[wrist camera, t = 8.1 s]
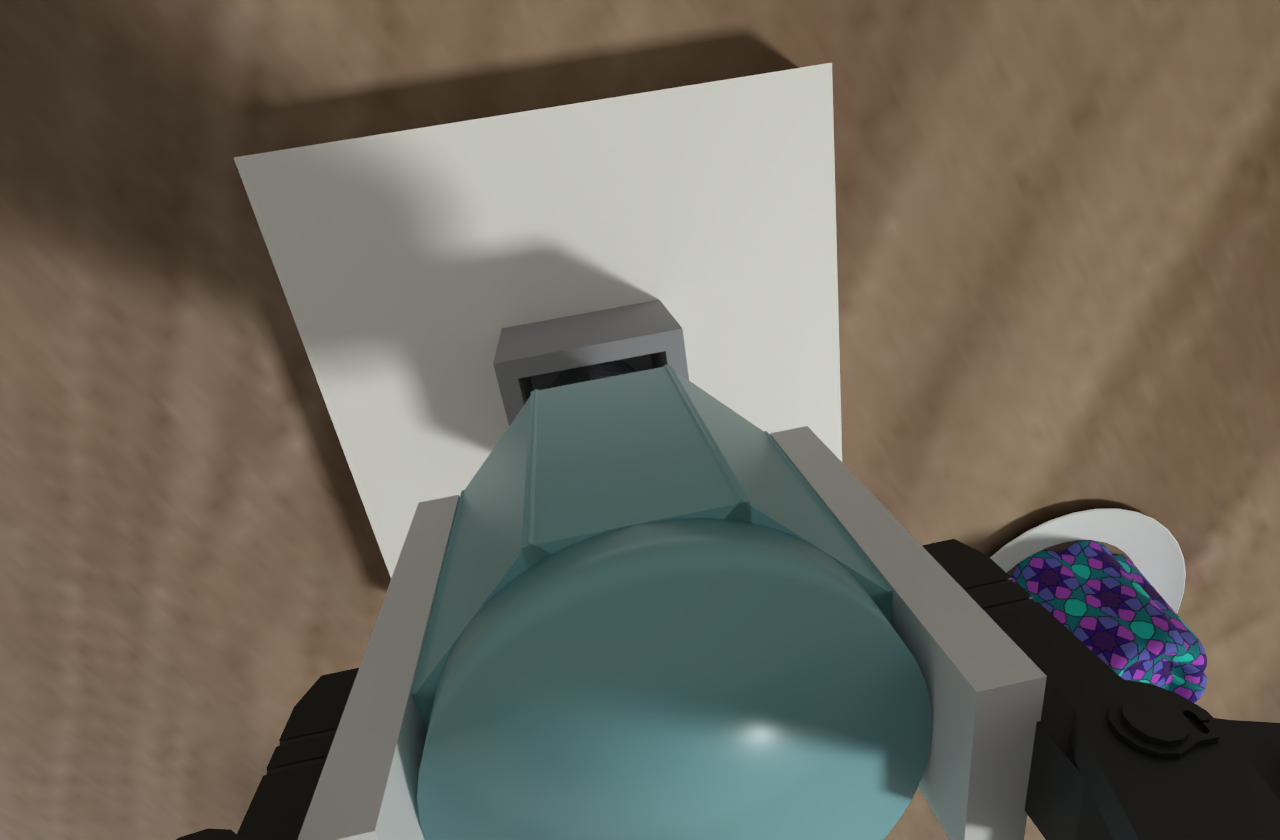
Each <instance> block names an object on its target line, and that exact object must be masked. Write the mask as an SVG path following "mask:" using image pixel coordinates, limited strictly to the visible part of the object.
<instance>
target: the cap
mask: <svg viewBox="0 0 1280 840" xmlns="http://www.w3.org/2000/svg"><path fill="white" fill-rule="evenodd" d="M892 599H893V594H892V589H891V588H890V587H889V586H888V584H887V583H886V582H885V581H884V579H883V578H882V577H881V575H880V574H879V573H878V572H877V570H876V569H875V568H874V567H873V565H872V564H871V563H870V562H869V560H868V559H867V558H866V556H865V555H864V554H863V553H862V551H861V550H860V549H859V548H858V546H857V545H856V544H855V542H854V541H853V540H852V539H851V537H850V536H849V535H848V534H847V532H846V531H845V530H844V529H843V527H842V526H841V525H840V523H839V522H838V521H837V520H836V518H835V517H834V516H833V515H832V513H831V512H830V511H829V509H828V508H827V507H826V506H825V504H824V503H823V502H822V501H821V499H820V498H819V497H818V496H817V494H816V493H815V492H814V490H813V489H812V488H811V487H810V485H809V484H808V483H807V482H806V480H805V479H804V478H803V477H802V475H801V474H800V473H799V471H798V470H797V469H796V468H795V466H794V465H793V464H792V463H791V461H790V460H789V459H788V457H787V456H786V455H785V454H784V452H783V451H782V450H781V449H780V447H779V446H778V445H777V444H776V442H775V441H774V440H773V438H772V437H771V436H770V435H769V433H768V432H767V431H762V430H761V429H759V428H758V427H756V426H755V425H753V424H752V423H751V422H749V421H748V420H746V419H745V418H743V417H742V416H740V415H739V414H737V413H736V412H734V411H733V410H732V409H730V408H729V407H727V406H726V405H724V404H723V403H721V402H720V401H718V400H717V399H715V398H714V397H712V396H711V395H710V394H708V393H707V392H705V391H704V390H702V389H701V388H699V387H698V386H696V385H695V384H693V383H692V382H690V381H689V380H688V379H686V378H685V377H683V376H682V375H680V374H679V373H677V372H676V371H674V370H673V368H672V367H671V366H667V365H666V364H665V366H664V367H660V368H655V369H649V370H644V371H639V372H633V373H628V374H623V375H617V376H612V377H607V378H601V379H596V380H591V381H585V382H580V383H575V384H569V385H564V386H559V387H553V388H548V389H543V390H537V389H535V390H534V391H532V392H531V396H530V397H529V399H528V400H527V402H526V403H525V405H524V406H523V407H522V409H521V410H520V412H519V413H518V415H517V416H516V417H515V419H514V420H513V422H512V423H511V425H510V426H509V427H508V429H507V430H506V432H505V433H504V434H503V436H502V437H501V439H500V440H499V442H498V443H497V444H496V446H495V447H494V449H493V450H492V452H491V453H490V454H489V456H488V457H487V459H486V460H485V462H484V463H483V464H482V466H481V467H480V469H479V470H478V472H477V473H476V474H475V476H474V477H473V479H472V480H471V482H470V483H469V484H468V486H467V487H466V489H465V490H462V491H461V495H460V499H459V503H458V507H457V511H456V515H455V519H454V523H453V527H452V531H451V535H450V539H449V543H448V547H447V551H446V555H445V559H444V563H443V567H442V571H441V575H440V579H439V583H438V587H437V591H436V595H435V599H434V604H433V608H432V612H431V616H430V620H429V624H428V628H427V632H426V636H425V640H424V644H423V648H422V652H421V656H420V660H419V664H418V668H417V672H416V676H415V680H414V684H413V688H412V692H411V695H412V698H413V700H414V703H415V705H416V708H417V710H418V713H419V715H420V718H421V720H422V723H423V725H424V728H425V730H426V733H427V735H426V740H425V745H424V750H423V755H422V760H421V764H420V769H419V777H418V791H417V804H418V812H419V820H420V825H421V828H422V832H423V835H424V838H425V840H883V839H884V838H885V836H886V835H887V834H888V833H889V831H890V830H891V829H892V828H893V827H894V825H895V824H896V823H897V822H898V820H899V819H900V817H901V816H902V814H903V812H904V811H905V809H906V808H907V806H908V805H909V803H910V801H911V800H912V798H913V796H914V794H915V792H916V789H917V787H918V785H919V783H920V781H921V779H922V776H923V773H924V770H925V766H926V763H927V760H928V756H929V753H930V745H931V738H932V731H933V729H932V706H931V702H930V697H929V693H928V688H927V684H926V682H925V679H924V677H923V675H922V672H921V670H920V668H919V665H918V663H917V661H916V660H915V658H914V657H913V655H912V654H911V652H910V651H909V649H908V648H907V647H906V645H905V644H904V642H903V641H902V639H901V638H900V637H899V635H898V634H897V632H896V631H895V630H894V628H893V627H892Z"/></svg>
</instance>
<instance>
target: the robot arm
mask: <svg viewBox="0 0 1280 840" xmlns="http://www.w3.org/2000/svg"><path fill="white" fill-rule="evenodd" d="M770 436H771V437H772V438H773V440H774V441H775V442H776V444H777V445H778V446H779V447H780V449H781V450H782V451H783V452H784V454H785V455H786V456H787V457H788V459H789V460H790V461H791V463H792V464H793V465H794V466H795V468H796V469H797V470H798V471H799V473H800V474H801V475H802V477H803V478H804V479H805V480H806V482H807V483H808V484H809V485H810V487H811V488H812V489H813V490H814V492H815V493H816V494H817V496H818V497H819V498H820V499H821V501H822V502H823V503H824V504H825V506H826V507H827V508H828V509H829V511H830V512H831V513H832V515H833V516H834V517H835V518H836V520H837V521H838V522H839V523H840V525H841V526H842V527H843V529H844V530H845V531H846V532H847V534H848V535H849V536H850V537H851V539H852V540H853V541H854V542H855V544H856V545H857V546H858V548H859V549H860V550H861V551H862V553H863V554H864V555H865V556H866V558H867V559H868V560H869V562H870V563H871V564H872V565H873V567H874V568H875V569H876V570H877V572H878V573H879V574H880V575H881V577H882V578H883V579H884V581H885V582H886V583H887V584H888V586H889V587H890V588H891V589H892V594H893V599H892V627H893V628H894V630H895V631H896V632H897V634H898V635H899V637H900V638H901V639H902V641H903V642H904V644H905V645H906V647H907V648H908V649H909V651H910V652H911V654H912V655H913V657H914V658H915V660H916V661H917V663H918V665H919V668H920V670H921V672H922V675H923V677H924V679H925V682H926V684H927V688H928V693H929V697H930V702H931V706H932V729H933V731H932V738H931V745H930V753H929V756H928V760H927V763H926V766H925V770H924V773H923V776H922V779H921V781H920V783H919V785H918V787H919V788H920V790H921V792H922V794H923V795H924V797H925V799H926V800H927V802H928V804H929V805H930V807H931V809H932V811H933V812H934V814H935V816H936V817H937V819H938V821H939V822H940V824H941V826H942V828H943V829H944V831H945V833H946V834H947V836H948V838H949V840H1024V834H1025V827H1026V820H1027V814H1028V816H1029V817H1030V818H1031V820H1032V821H1033V822H1034V824H1035V825H1036V827H1037V828H1038V829H1039V831H1040V832H1041V833H1042V835H1043V836H1044V838H1045V839H1046V840H1280V723H1270V722H1253V721H1236V720H1225V719H1217V718H1213V717H1212V716H1211V715H1210V714H1209V713H1208V712H1207V711H1206V710H1204V709H1202V708H1201V707H1199V706H1198V705H1196V704H1194V703H1193V702H1191V701H1189V700H1188V699H1186V698H1184V697H1183V696H1181V695H1179V694H1177V693H1174V692H1172V691H1169V690H1166V689H1164V688H1161V687H1158V686H1155V685H1153V684H1150V683H1145V682H1138V681H1131V680H1124V679H1123V678H1122V677H1120V676H1119V675H1118V674H1117V673H1116V672H1115V671H1114V670H1112V669H1111V668H1110V667H1109V666H1108V665H1107V664H1106V663H1105V662H1104V661H1103V660H1101V659H1100V658H1099V657H1098V656H1097V655H1096V654H1095V653H1094V652H1093V651H1092V650H1090V649H1089V648H1088V647H1087V646H1086V645H1085V644H1084V643H1083V642H1082V641H1081V640H1080V639H1078V638H1077V637H1076V636H1075V635H1074V634H1073V633H1072V632H1071V631H1070V630H1069V629H1067V628H1066V627H1065V626H1064V625H1063V624H1062V623H1061V622H1060V621H1059V620H1058V619H1057V618H1055V617H1054V616H1053V615H1052V614H1051V613H1050V612H1049V611H1048V610H1047V609H1046V608H1044V607H1043V606H1042V605H1041V604H1040V603H1039V602H1034V600H1033V597H1032V596H1031V595H1030V594H1029V593H1028V592H1027V591H1026V590H1025V589H1024V588H1023V587H1021V586H1020V585H1019V584H1018V583H1017V582H1016V583H1014V582H1013V581H1012V577H1010V576H1009V575H1008V574H1007V573H1006V572H1005V571H1004V570H1003V569H1002V568H1001V567H1000V566H998V565H997V564H996V563H995V562H994V561H993V560H992V559H991V558H990V557H989V556H987V555H986V554H984V553H982V552H979V551H977V550H975V549H973V548H971V547H969V546H967V545H965V544H963V543H961V542H959V541H957V540H955V539H951V540H946V541H942V542H937V543H932V544H928V545H923V546H922V545H921V544H920V543H919V542H918V541H917V540H916V539H915V538H914V537H913V536H912V535H911V534H910V533H909V532H908V531H907V530H906V529H905V528H904V527H903V525H902V524H901V523H900V522H899V521H898V520H897V519H896V518H895V517H894V516H893V515H892V514H891V513H890V512H889V511H888V510H887V509H886V508H885V507H884V506H883V505H882V504H881V502H880V501H879V500H878V499H877V498H876V497H875V496H874V495H873V494H872V493H871V492H870V491H869V490H868V489H867V488H866V487H865V486H864V485H863V484H862V483H861V482H860V481H859V479H858V478H857V477H856V476H855V475H854V474H853V473H852V472H851V471H850V470H849V469H848V468H847V467H846V466H845V465H844V464H843V463H842V462H841V461H840V460H839V459H838V458H837V457H836V455H835V454H834V453H833V452H832V451H831V450H830V449H829V448H828V447H827V446H826V445H825V444H824V443H823V442H822V441H821V440H820V439H819V438H818V437H817V436H816V435H815V434H814V432H813V431H812V430H811V429H810V428H809V427H808V426H805V427H800V428H794V429H789V430H784V431H779V432H774V433H770ZM459 499H460V497H459V495H455V496H450V497H445V498H440V499H435V500H430V501H424V502H419V503H418V506H417V509H416V511H415V514H414V517H413V520H412V523H411V525H410V528H409V531H408V534H407V537H406V539H405V542H404V545H403V548H402V550H401V553H400V556H399V559H398V562H397V564H396V567H395V570H394V573H393V575H392V578H391V581H390V584H389V587H388V589H387V592H386V595H385V598H384V600H383V603H382V606H381V609H380V612H379V614H378V617H377V620H376V623H375V626H374V628H373V631H372V634H371V637H370V639H369V642H368V645H367V648H366V651H365V653H364V656H363V659H362V662H361V664H360V667H359V668H356V669H351V670H346V671H342V672H337V673H332V674H327V675H323V676H321V677H320V678H319V679H318V680H317V681H316V683H315V684H314V685H313V686H312V687H311V688H310V689H309V691H308V692H307V693H306V694H305V695H304V696H303V698H302V699H301V700H300V701H299V702H298V703H297V704H296V706H295V707H294V709H293V711H292V713H291V715H290V718H289V720H288V722H287V724H286V727H285V729H284V731H283V733H282V735H281V738H280V740H279V741H280V746H278V747H276V749H275V751H274V753H273V755H272V758H271V760H270V762H269V764H268V766H267V775H265V776H263V778H262V780H261V782H260V784H259V786H258V789H257V791H256V793H255V795H254V797H253V800H252V802H251V804H250V806H249V809H248V811H247V813H246V815H245V817H244V820H243V822H242V824H241V826H240V829H239V831H238V833H237V834H235V833H234V832H233V831H232V830H225V829H205V830H202V831H199V832H196V833H193V834H189V835H186V836H183V837H180V838H178V839H176V840H425V838H424V835H423V832H422V828H421V825H420V820H419V812H418V804H417V791H418V777H419V769H420V764H421V760H422V755H423V750H424V745H425V740H426V735H427V733H426V730H425V728H424V725H423V723H422V720H421V718H420V715H419V713H418V710H417V708H416V705H415V703H414V700H413V698H412V695H411V692H412V688H413V684H414V680H415V676H416V672H417V668H418V664H419V660H420V656H421V652H422V648H423V644H424V640H425V636H426V632H427V628H428V624H429V620H430V616H431V612H432V608H433V604H434V599H435V595H436V591H437V587H438V583H439V579H440V575H441V571H442V567H443V563H444V559H445V555H446V551H447V547H448V543H449V539H450V535H451V531H452V527H453V523H454V519H455V515H456V511H457V507H458V503H459Z"/></svg>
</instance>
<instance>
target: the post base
mask: <svg viewBox="0 0 1280 840" xmlns="http://www.w3.org/2000/svg"><path fill="white" fill-rule="evenodd" d="M234 160H235V163H236V166H237V168H238V171H239V174H240V177H241V179H242V182H243V185H244V187H245V190H246V193H247V195H248V198H249V201H250V203H251V206H252V209H253V211H254V214H255V217H256V219H257V222H258V225H259V227H260V230H261V233H262V235H263V238H264V241H265V243H266V246H267V249H268V251H269V254H270V257H271V259H272V262H273V265H274V267H275V270H276V273H277V275H278V278H279V281H280V283H281V286H282V289H283V291H284V294H285V297H286V299H287V302H288V305H289V307H290V310H291V313H292V315H293V318H294V321H295V323H296V326H297V329H298V331H299V334H300V337H301V339H302V342H303V345H304V347H305V350H306V353H307V355H308V358H309V361H310V363H311V366H312V369H313V371H314V374H315V377H316V380H317V382H318V385H319V388H320V390H321V393H322V396H323V398H324V401H325V404H326V406H327V409H328V412H329V414H330V417H331V420H332V422H333V425H334V428H335V430H336V433H337V436H338V438H339V441H340V444H341V446H342V449H343V452H344V454H345V457H346V460H347V462H348V465H349V468H350V470H351V473H352V476H353V478H354V481H355V484H356V486H357V489H358V492H359V494H360V497H361V500H362V502H363V505H364V508H365V510H366V513H367V516H368V518H369V521H370V524H371V526H372V529H373V532H374V534H375V537H376V540H377V542H378V545H379V548H380V550H381V553H382V556H383V558H384V561H385V564H386V566H387V569H388V572H389V574H390V577H391V578H392V575H393V573H394V570H395V567H396V564H397V562H398V559H399V556H400V553H401V550H402V548H403V545H404V542H405V539H406V537H407V534H408V531H409V528H410V525H411V523H412V520H413V517H414V514H415V511H416V509H417V506H418V503H419V502H424V501H430V500H435V499H440V498H445V497H450V496H455V495H459V497H460V495H461V491H462V490H465V489H466V487H467V486H468V484H469V483H470V482H471V480H472V479H473V477H474V476H475V474H476V473H477V472H478V470H479V469H480V467H481V466H482V464H483V463H484V462H485V460H486V459H487V457H488V456H489V454H490V453H491V452H492V450H493V449H494V447H495V446H496V444H497V443H498V442H499V440H500V439H501V437H502V436H503V434H504V433H505V432H506V430H507V429H508V427H509V426H510V425H511V423H512V422H513V420H514V419H515V417H516V416H517V415H518V413H519V412H520V410H521V409H522V407H523V406H524V405H525V403H526V402H527V400H528V399H529V397H530V396H531V392H532V391H534V390H535V389H537V390H543V389H548V388H551V386H552V384H553V382H554V381H555V379H556V378H557V376H558V375H559V374H560V373H561V372H562V371H563V370H567V369H572V368H578V367H583V366H588V365H594V364H599V363H604V362H610V361H615V360H622V361H624V362H626V363H627V364H629V365H630V366H632V367H633V368H634V369H635V370H636V371H637V372H639V371H644V370H649V369H655V368H660V367H664V366H665V364H666V365H667V366H671V367H672V368H673V370H674V371H676V372H677V373H679V374H680V375H682V376H683V377H685V378H686V379H688V380H689V381H690V382H692V383H693V384H695V385H696V386H698V387H699V388H701V389H702V390H704V391H705V392H707V393H708V394H710V395H711V396H712V397H714V398H715V399H717V400H718V401H720V402H721V403H723V404H724V405H726V406H727V407H729V408H730V409H732V410H733V411H734V412H736V413H737V414H739V415H740V416H742V417H743V418H745V419H746V420H748V421H749V422H751V423H752V424H753V425H755V426H756V427H758V428H759V429H761V430H762V431H767V432H768V433H769V435H770V433H774V432H779V431H784V430H789V429H794V428H800V427H805V426H808V427H809V428H810V429H811V430H812V431H813V432H814V434H815V435H816V436H817V437H818V438H819V439H820V440H821V441H822V442H823V443H824V444H825V445H826V446H827V447H828V448H829V449H830V450H831V451H832V452H833V453H834V454H835V455H836V457H837V458H838V459H839V460H840V461H841V462H842V436H841V397H840V358H839V319H838V280H837V242H836V203H835V164H834V125H833V86H832V63H827V64H821V65H814V66H808V67H802V68H795V69H789V70H783V71H776V72H770V73H764V74H758V75H751V76H745V77H739V78H732V79H726V80H720V81H713V82H707V83H701V84H694V85H688V86H682V87H676V88H669V89H663V90H657V91H650V92H644V93H638V94H631V95H625V96H619V97H612V98H606V99H600V100H593V101H587V102H581V103H575V104H568V105H562V106H556V107H549V108H543V109H537V110H530V111H524V112H518V113H511V114H505V115H499V116H492V117H486V118H480V119H474V120H467V121H461V122H455V123H448V124H442V125H436V126H429V127H423V128H417V129H410V130H404V131H398V132H392V133H385V134H379V135H373V136H366V137H360V138H354V139H347V140H341V141H335V142H328V143H322V144H316V145H309V146H303V147H297V148H291V149H284V150H278V151H272V152H265V153H259V154H253V155H246V156H240V157H234Z"/></svg>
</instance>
